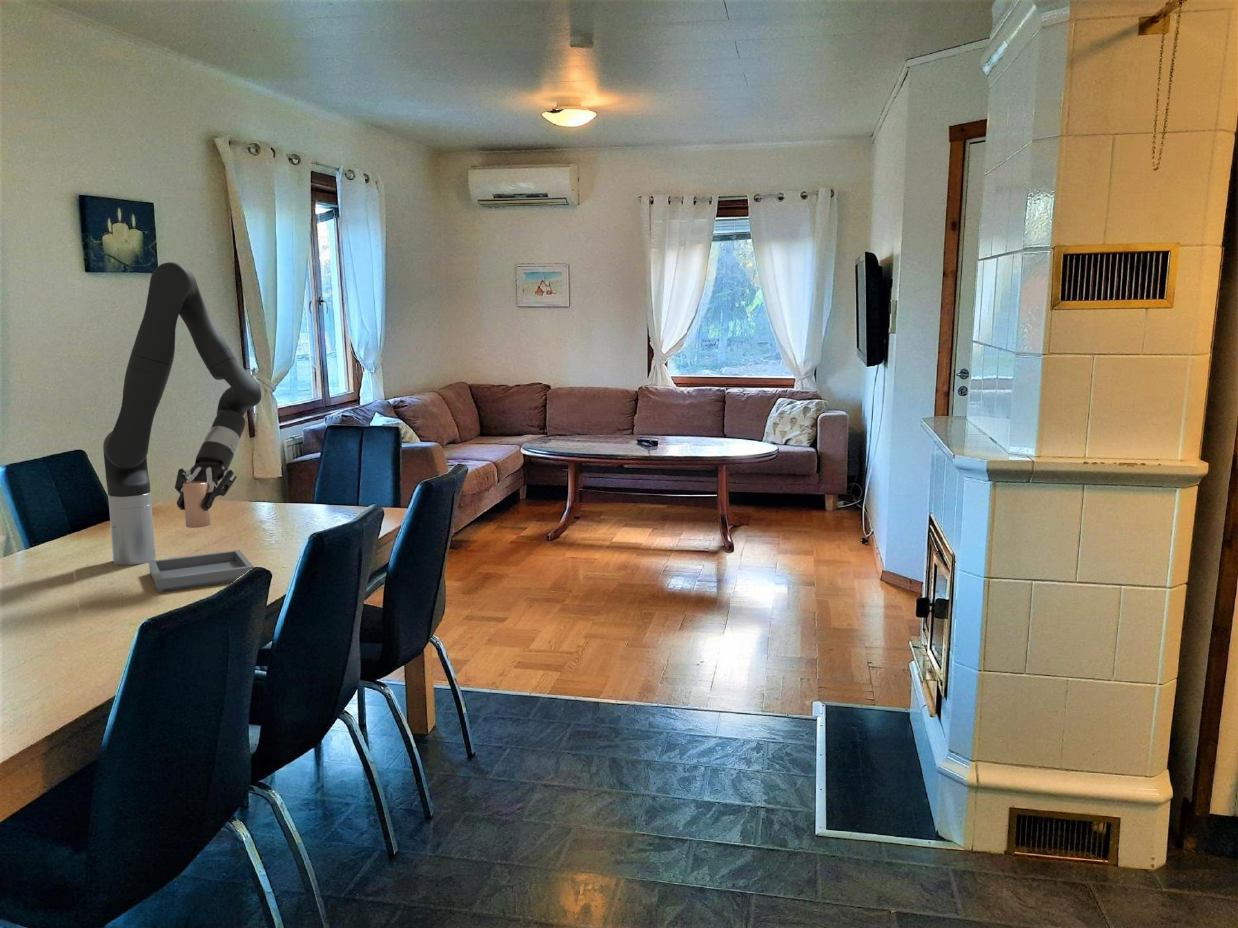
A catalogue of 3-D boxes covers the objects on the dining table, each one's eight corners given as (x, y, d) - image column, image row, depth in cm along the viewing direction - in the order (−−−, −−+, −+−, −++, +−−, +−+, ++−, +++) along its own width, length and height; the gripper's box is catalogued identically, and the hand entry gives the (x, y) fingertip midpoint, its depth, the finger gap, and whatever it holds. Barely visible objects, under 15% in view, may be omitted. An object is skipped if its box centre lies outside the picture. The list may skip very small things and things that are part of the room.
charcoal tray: (158, 592, 193) (157, 579, 193) (150, 573, 208) (149, 561, 208) (254, 579, 204) (253, 566, 203) (240, 561, 219) (239, 549, 218)
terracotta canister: (182, 527, 201) (178, 485, 200) (191, 522, 206) (188, 481, 205) (205, 527, 202) (202, 485, 200) (214, 522, 207) (211, 480, 205)
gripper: (183, 439, 209) (155, 498, 199) (239, 440, 207) (214, 500, 198) (197, 457, 215) (171, 516, 205) (252, 459, 214) (228, 518, 204)
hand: (192, 508), depth 202 cm, fingers closed on terracotta canister, 5 cm apart
